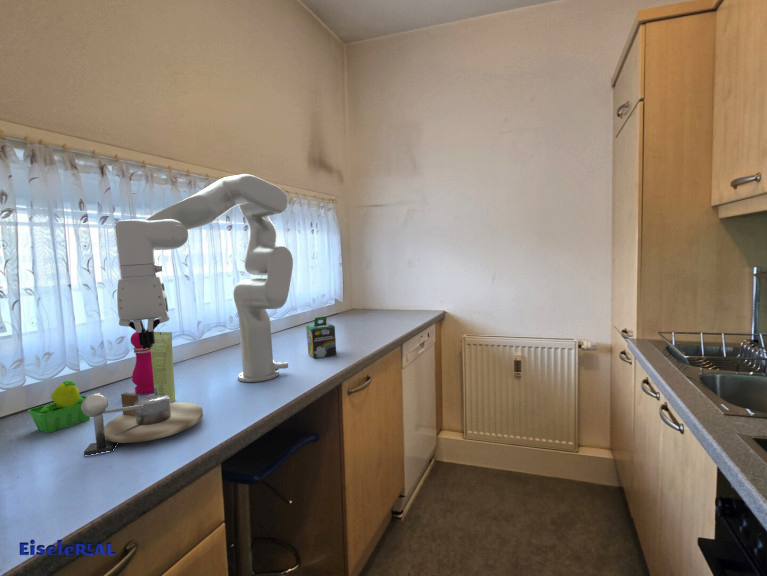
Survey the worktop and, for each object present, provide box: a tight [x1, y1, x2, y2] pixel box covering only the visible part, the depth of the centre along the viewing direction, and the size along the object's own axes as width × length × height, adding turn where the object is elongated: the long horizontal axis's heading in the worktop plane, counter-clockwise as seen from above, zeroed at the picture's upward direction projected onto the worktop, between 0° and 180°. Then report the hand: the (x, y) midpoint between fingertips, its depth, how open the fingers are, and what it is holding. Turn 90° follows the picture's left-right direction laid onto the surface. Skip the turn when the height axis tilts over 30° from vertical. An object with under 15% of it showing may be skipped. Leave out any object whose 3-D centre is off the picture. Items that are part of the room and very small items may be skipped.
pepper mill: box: [130, 326, 154, 395], centre depth 125 cm, size 7×7×20 cm
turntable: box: [104, 392, 204, 444], centre depth 97 cm, size 20×20×6 cm
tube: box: [151, 331, 176, 403], centre depth 115 cm, size 6×5×20 cm
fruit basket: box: [27, 379, 91, 434], centre depth 102 cm, size 11×9×11 cm
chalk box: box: [305, 316, 337, 360], centre depth 161 cm, size 9×9×15 cm
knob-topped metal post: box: [81, 392, 144, 457], centre depth 88 cm, size 11×4×12 cm, turn 109°
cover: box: [134, 394, 171, 425], centre depth 96 cm, size 7×7×5 cm
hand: (147, 347), depth 103 cm, fingers closed
